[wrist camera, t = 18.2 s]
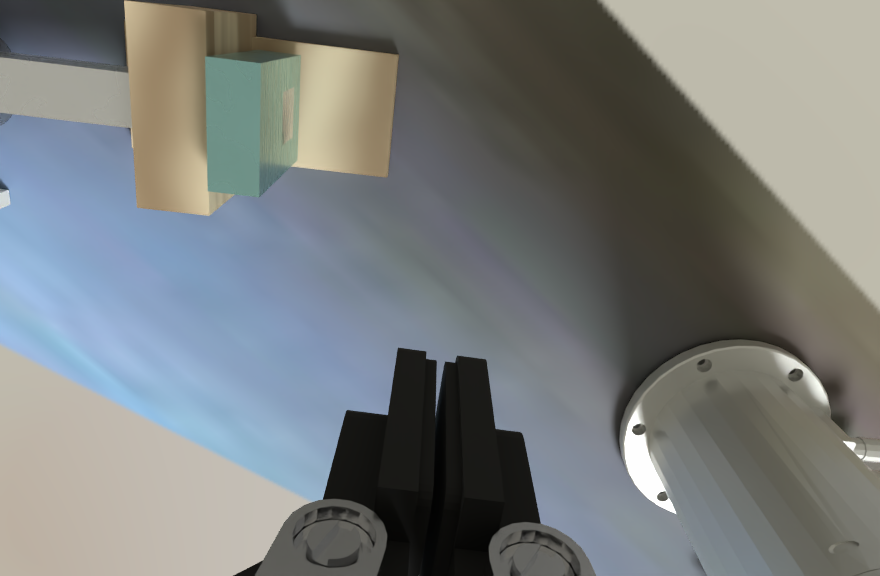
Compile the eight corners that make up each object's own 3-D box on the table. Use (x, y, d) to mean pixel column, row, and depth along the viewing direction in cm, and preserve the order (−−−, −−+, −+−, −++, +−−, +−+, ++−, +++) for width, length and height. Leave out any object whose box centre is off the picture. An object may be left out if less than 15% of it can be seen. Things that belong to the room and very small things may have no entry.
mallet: (300, 55, 30) (260, 63, 23) (297, 160, 32) (259, 197, 25) (-5, 16, 29) (-141, 13, 22) (10, 126, 31) (-111, 154, 24)
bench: (400, 32, 31) (391, 34, 24) (386, 192, 34) (374, 234, 27) (130, -2, 30) (41, -11, 24) (139, 164, 33) (63, 199, 27)
